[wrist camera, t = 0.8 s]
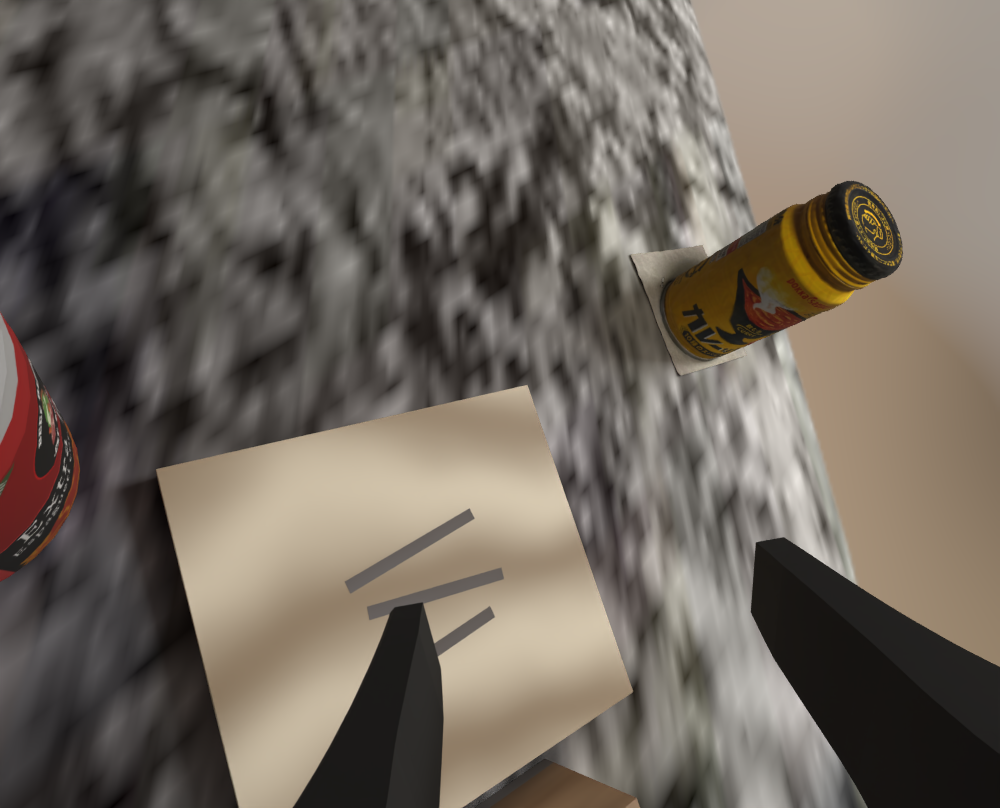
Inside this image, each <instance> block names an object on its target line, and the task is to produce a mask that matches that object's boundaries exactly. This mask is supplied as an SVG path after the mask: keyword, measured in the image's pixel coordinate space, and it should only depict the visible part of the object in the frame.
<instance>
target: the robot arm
mask: <svg viewBox="0 0 1000 808" xmlns="http://www.w3.org/2000/svg"><path fill="white" fill-rule="evenodd" d="M751 613H752V616H753V618H754V620H755V622H756V624H757V626H758V628H759V630H760V632H761V634H762V636H763V638H764V640H765V642H766V644H767V646H768V648H769V650H770V652H771V654H772V656H773V658H774V659H775V661H776V662H777V664H778V666H779V667H780V669H781V670H782V672H783V673H784V675H785V677H786V678H787V680H788V681H789V683H790V684H791V686H792V687H793V689H794V690H795V692H796V693H797V695H798V697H799V698H800V700H801V701H802V703H803V704H804V706H805V707H806V709H807V710H808V712H809V713H810V715H811V716H812V718H813V719H814V721H815V722H816V724H817V725H818V727H819V728H820V730H821V732H822V733H823V735H824V736H825V738H826V739H827V741H828V742H829V744H830V745H831V747H832V748H833V750H834V751H835V753H836V754H837V756H838V757H839V759H840V760H841V762H842V764H843V765H844V767H845V769H846V770H847V772H848V773H849V775H850V777H851V778H852V780H853V782H854V783H855V785H856V787H857V789H858V790H859V792H860V794H861V796H862V798H863V800H864V801H865V803H866V805H867V807H868V808H1000V667H999V666H997V665H995V664H993V663H991V662H989V661H987V660H984V659H983V658H981V657H979V656H977V655H975V654H973V653H971V652H969V651H967V650H965V649H963V648H961V647H960V646H958V645H956V644H954V643H952V642H950V641H948V640H947V639H945V638H943V637H941V636H940V635H938V634H936V633H934V632H933V631H931V630H929V629H927V628H926V627H924V626H922V625H920V624H919V623H916V622H915V621H913V620H912V619H910V618H908V617H906V616H905V615H903V614H902V613H900V612H898V611H897V610H895V609H893V608H892V607H890V606H888V605H887V604H885V603H884V602H882V601H880V600H879V599H877V598H876V597H874V596H873V595H871V594H869V593H868V592H866V591H865V590H863V589H861V588H860V587H858V586H857V585H855V584H854V583H852V582H851V581H849V580H848V579H846V578H845V577H843V576H842V575H840V574H839V573H837V572H836V571H834V570H833V569H831V568H830V567H828V566H827V565H825V564H824V563H822V562H821V561H819V560H818V559H816V558H815V557H813V556H812V555H810V554H809V553H807V552H806V551H804V550H803V549H801V548H800V547H798V546H796V545H795V544H793V543H792V542H790V541H789V540H787V539H786V538H784V537H783V538H778V539H772V540H766V541H761V542H756V549H755V562H754V576H753V590H752V603H751ZM443 725H444V713H443V693H442V675H441V666H440V663H439V659H438V655H437V652H436V648H435V644H434V641H433V637H432V634H431V630H430V626H429V623H428V619H427V615H426V612H425V608H424V604H423V602H421V603H415V604H410V605H404V606H398V607H394V608H393V610H392V611H391V612H390V614H389V617H388V620H387V623H386V626H385V628H384V631H383V634H382V636H381V639H380V641H379V644H378V646H377V649H376V651H375V654H374V656H373V658H372V661H371V663H370V665H369V668H368V670H367V672H366V674H365V676H364V678H363V681H362V683H361V685H360V687H359V689H358V691H357V694H356V696H355V698H354V700H353V702H352V704H351V706H350V708H349V710H348V712H347V714H346V716H345V718H344V720H343V722H342V723H341V725H340V727H339V729H338V731H337V733H336V735H335V737H334V739H333V741H332V742H331V744H330V746H329V748H328V750H327V752H326V753H325V755H324V757H323V759H322V760H321V762H320V764H319V766H318V767H317V769H316V771H315V772H314V774H313V776H312V777H311V779H310V781H309V782H308V784H307V786H306V787H305V789H304V790H303V792H302V794H301V795H300V797H299V798H298V800H297V802H296V803H295V805H294V806H293V808H439V806H440V786H441V767H442V747H443Z"/></svg>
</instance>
